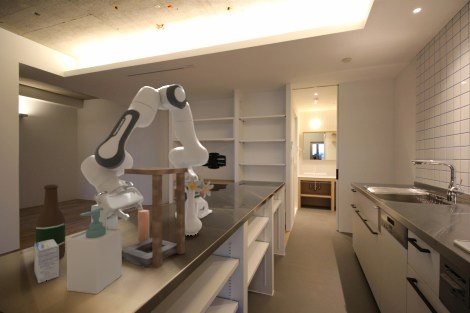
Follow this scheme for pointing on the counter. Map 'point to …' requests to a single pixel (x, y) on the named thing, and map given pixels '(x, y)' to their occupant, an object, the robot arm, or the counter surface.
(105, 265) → the soap bottle
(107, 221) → the supplement box
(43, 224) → the beer bottle
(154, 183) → the brown wooden tall frame
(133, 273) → the counter surface
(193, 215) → the flower vase
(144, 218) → the peg
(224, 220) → the counter surface
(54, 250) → the medicine box
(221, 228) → the counter surface
